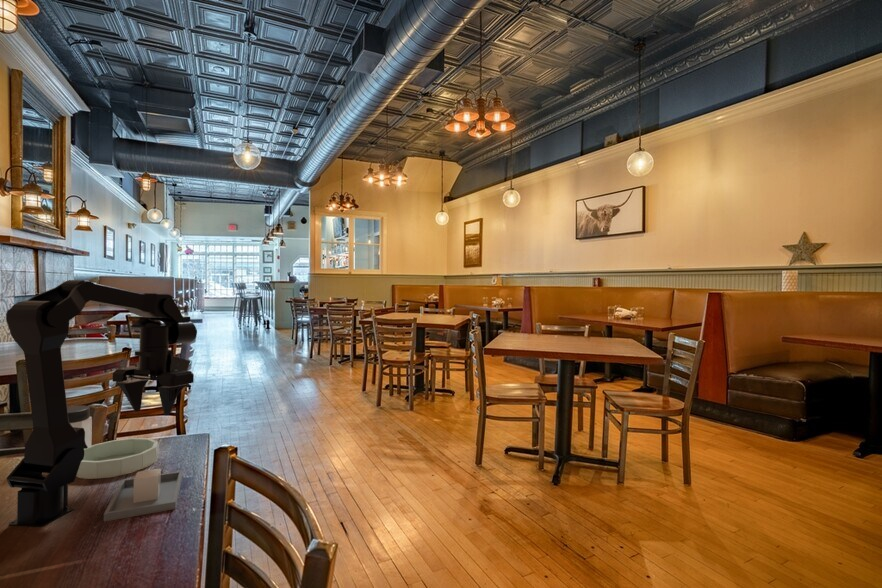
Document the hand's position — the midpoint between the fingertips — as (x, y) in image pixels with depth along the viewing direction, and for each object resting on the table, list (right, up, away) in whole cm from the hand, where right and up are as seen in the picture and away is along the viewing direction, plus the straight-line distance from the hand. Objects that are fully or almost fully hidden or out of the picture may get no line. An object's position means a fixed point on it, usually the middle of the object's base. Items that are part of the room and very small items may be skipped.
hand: (152, 413), depth 102 cm
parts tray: (+9, -13, -15) cm, 22 cm away
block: (+9, -13, -15) cm, 21 cm away
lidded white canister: (-25, -13, +6) cm, 29 cm away
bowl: (-9, -13, +1) cm, 16 cm away
